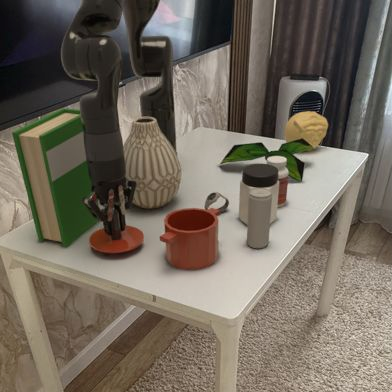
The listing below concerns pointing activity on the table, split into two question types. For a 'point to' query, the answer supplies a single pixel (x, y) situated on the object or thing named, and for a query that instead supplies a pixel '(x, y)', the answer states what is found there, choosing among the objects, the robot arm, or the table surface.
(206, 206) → the wristwatch
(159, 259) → the table surface
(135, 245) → the lid
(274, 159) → the pill bottle
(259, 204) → the beverage can
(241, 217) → the jar
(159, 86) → the robot arm
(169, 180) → the vase
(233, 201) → the table surface
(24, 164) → the hardback book
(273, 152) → the plant
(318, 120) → the sculpture
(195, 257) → the pot
